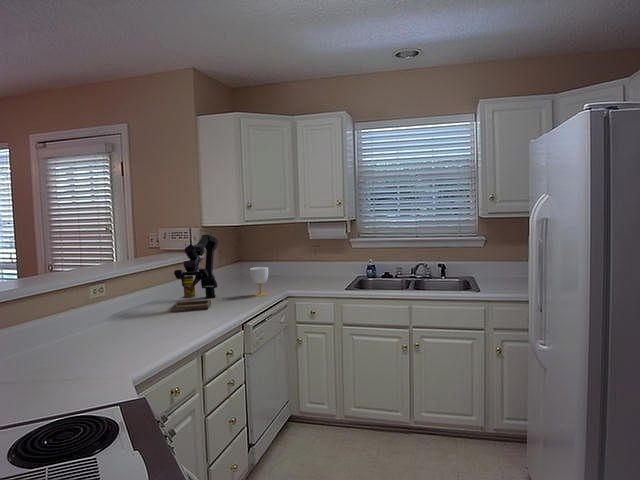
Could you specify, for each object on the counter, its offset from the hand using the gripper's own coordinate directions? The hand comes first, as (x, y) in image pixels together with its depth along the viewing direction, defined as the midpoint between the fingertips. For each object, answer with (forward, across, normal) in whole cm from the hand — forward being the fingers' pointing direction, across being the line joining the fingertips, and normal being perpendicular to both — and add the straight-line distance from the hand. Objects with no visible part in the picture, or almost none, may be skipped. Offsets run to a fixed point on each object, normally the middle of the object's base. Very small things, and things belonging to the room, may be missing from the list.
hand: (188, 285), depth 264 cm
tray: (+8, 0, +11) cm, 13 cm away
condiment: (+4, -1, +6) cm, 7 cm away
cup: (-16, +32, +36) cm, 51 cm away
